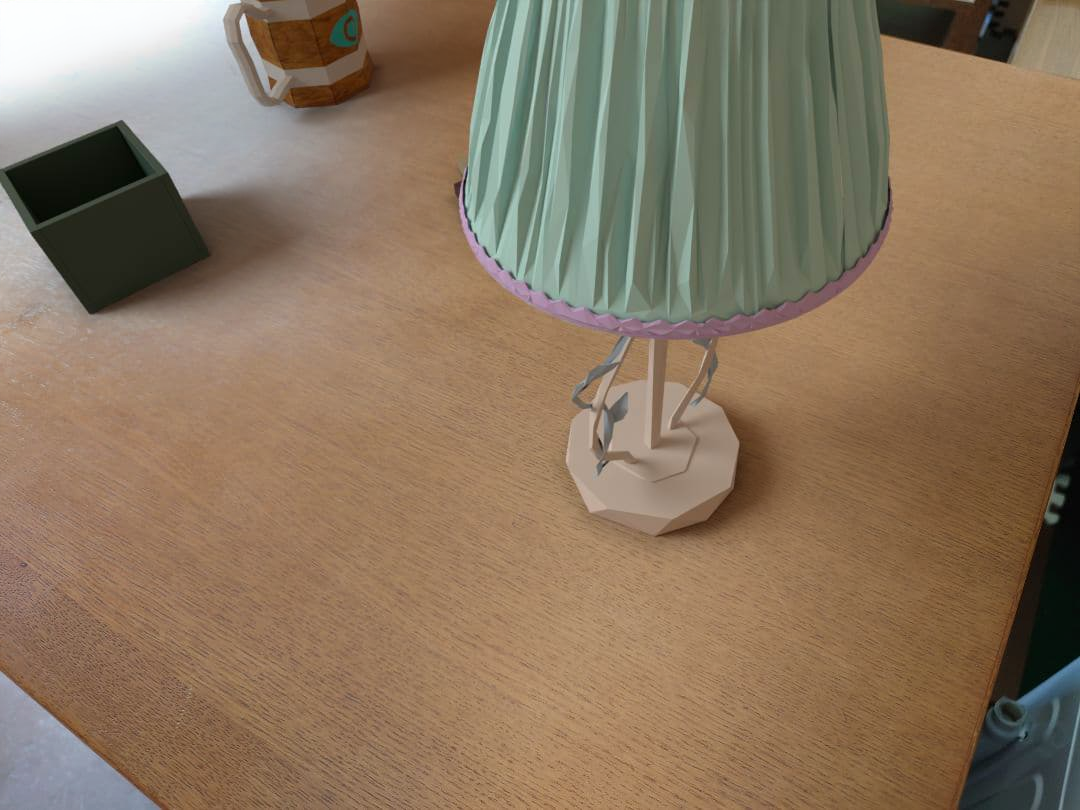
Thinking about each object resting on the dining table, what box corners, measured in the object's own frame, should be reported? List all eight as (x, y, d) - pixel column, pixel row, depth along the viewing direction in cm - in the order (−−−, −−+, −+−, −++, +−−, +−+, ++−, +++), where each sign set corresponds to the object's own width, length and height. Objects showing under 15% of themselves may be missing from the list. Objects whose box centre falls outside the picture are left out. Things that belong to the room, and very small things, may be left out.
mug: (307, 49, 105) (269, -73, 94) (394, 60, 102) (365, -66, 90) (221, 127, 94) (165, -1, 83) (315, 143, 90) (271, 11, 79)
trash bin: (89, 314, 74) (29, 232, 67) (51, 252, 81) (-7, 171, 73) (211, 255, 79) (168, 172, 71) (165, 200, 85) (122, 119, 78)
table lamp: (642, 318, 69) (665, -270, 38) (857, 459, 58) (1140, -205, 27) (452, 462, 60) (281, -141, 29) (662, 658, 49) (743, 30, 18)
